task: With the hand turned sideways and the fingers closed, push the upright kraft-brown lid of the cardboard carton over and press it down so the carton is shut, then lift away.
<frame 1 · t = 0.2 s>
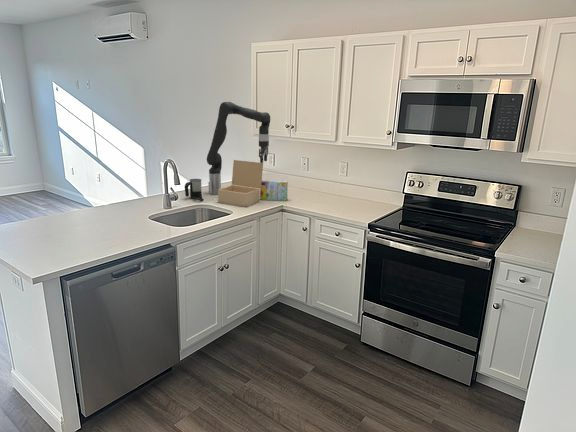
hand: (263, 161, 294), 30 cm above the countertop, tool pointing down, fingers open, 8 cm apart
snack box: (273, 199, 307), on the countertop
milk frother: (197, 199, 302), on the countertop
carton: (239, 202, 297), on the countertop
carton lid: (247, 174, 302), point 20 cm above the countertop, hinge at 100.0°
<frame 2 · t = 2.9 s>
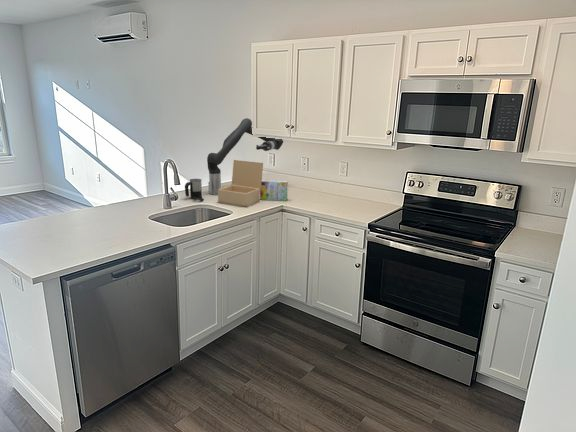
hand: (257, 148, 309), 38 cm above the countertop, tool horizontal, fingers closed
nothing on the countertop moved.
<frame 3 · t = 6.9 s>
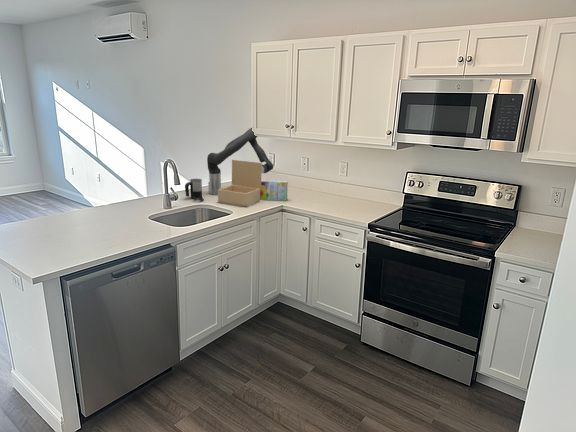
hand: (246, 173, 301), 20 cm above the countertop, tool horizontal, fingers closed
carton lid: (246, 174, 301), point 20 cm above the countertop, hinge at 93.0°, touching gripper
everything else where it was.
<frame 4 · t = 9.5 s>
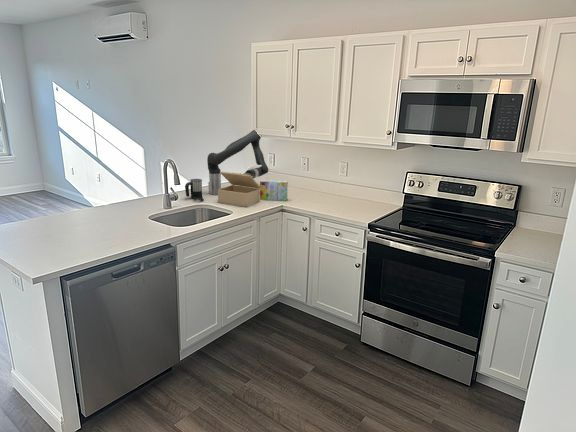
hand: (240, 177, 293), 19 cm above the countertop, tool horizontal, fingers closed
carton lid: (240, 179, 294), point 17 cm above the countertop, hinge at 38.1°
everything else where it was.
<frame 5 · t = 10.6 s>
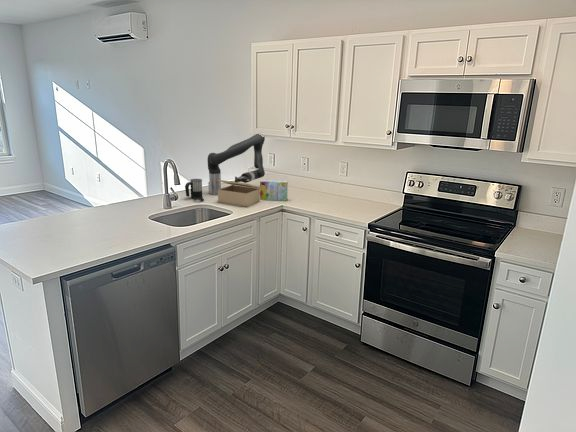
hand: (235, 181, 288), 17 cm above the countertop, tool horizontal, fingers closed
carton lid: (239, 184, 294), point 14 cm above the countertop, hinge at 18.3°
everything else where it was.
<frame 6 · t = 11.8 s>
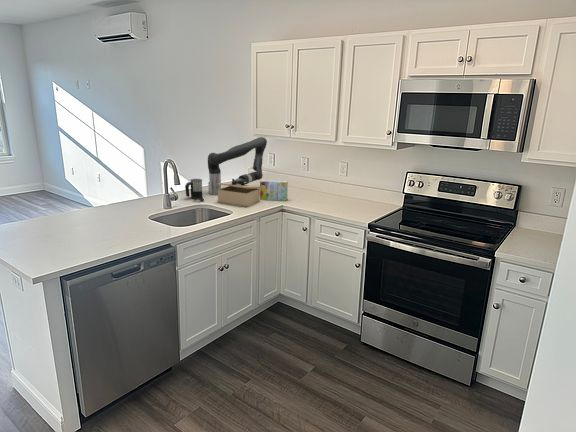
hand: (232, 183, 285), 16 cm above the countertop, tool horizontal, fingers closed
carton lid: (239, 185, 294), point 13 cm above the countertop, hinge at 11.4°, touching gripper
everything else where it was.
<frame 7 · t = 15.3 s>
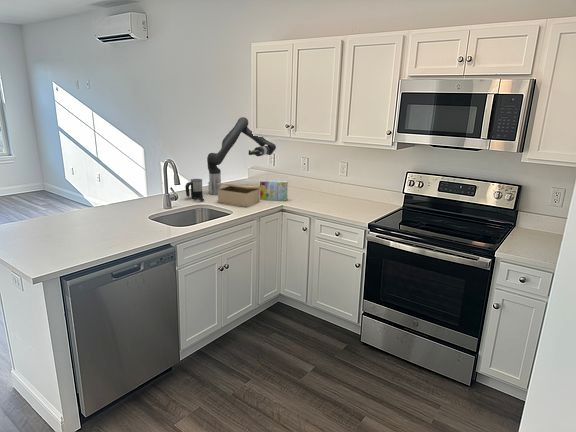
hand: (249, 153, 303), 35 cm above the countertop, tool horizontal, fingers closed
carton lid: (239, 185, 294), point 13 cm above the countertop, hinge at 11.4°
everything else where it was.
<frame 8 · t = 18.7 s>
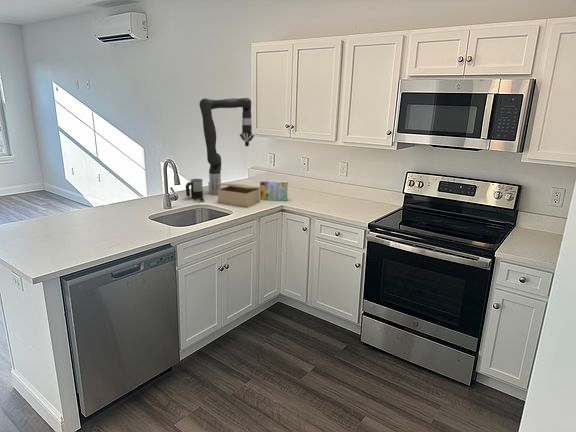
hand: (247, 146, 312), 39 cm above the countertop, tool pointing down, fingers closed
nothing on the countertop moved.
at the end: carton lid at +11° (first picture: +100°); snack box moved 0.3 cm from its start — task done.
